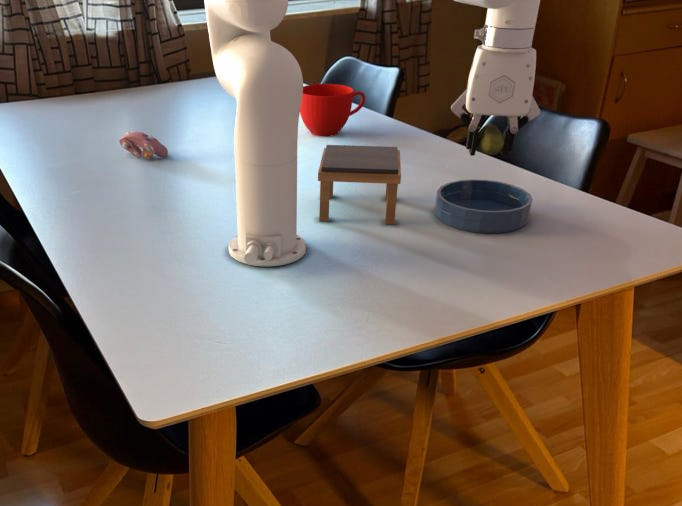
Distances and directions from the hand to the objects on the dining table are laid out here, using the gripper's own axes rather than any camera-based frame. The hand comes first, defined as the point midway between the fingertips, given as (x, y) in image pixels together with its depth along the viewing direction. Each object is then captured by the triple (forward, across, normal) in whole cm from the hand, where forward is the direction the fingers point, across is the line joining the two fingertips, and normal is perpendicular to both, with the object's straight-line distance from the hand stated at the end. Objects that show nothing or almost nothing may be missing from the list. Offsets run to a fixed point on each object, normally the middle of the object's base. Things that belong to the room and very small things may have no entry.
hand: (487, 153), depth 123 cm
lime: (0, 0, 0) cm, 0 cm away
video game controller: (+13, -69, +27) cm, 76 cm away
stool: (+12, -21, +1) cm, 24 cm away
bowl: (+11, +1, 0) cm, 12 cm away
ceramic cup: (+12, -29, +51) cm, 60 cm away
